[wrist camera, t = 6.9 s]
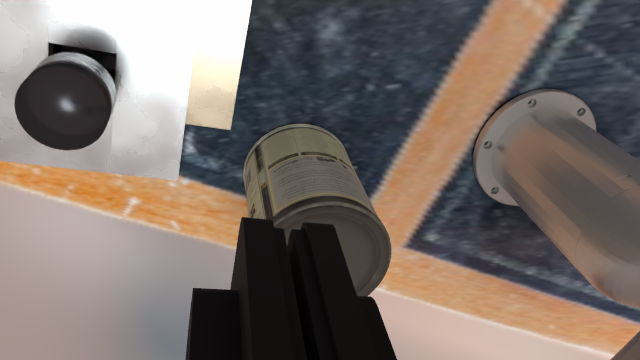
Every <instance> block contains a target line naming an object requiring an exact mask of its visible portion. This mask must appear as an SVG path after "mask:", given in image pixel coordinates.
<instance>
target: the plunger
mask: <svg viewBox="0 0 640 360" xmlns="http://www.w3.org/2000/svg"><path fill="white" fill-rule="evenodd" d="M116 61H117V54H115V53H109V52H103V51H97V50H91V49H85V48H79V47H73V46H67V45H62V50H61V53H57V54H53V55H51V56H49V57H47V58H45V59H44V60H42V61H41V62H40V63H39V64H38V65H37V67H36V68H35V69H34V70H33V71H32V72H31V73H30V75H29V76H28V77H27V78H26V79H25V80H24V81H23V83H22V84H21V85H20V87H19V88H18V90H17V93H16V96H15V103H14V106H15V112H16V116H17V119H18V121H19V123H20V124H21V126H22V127H23V129H24V130H25V131H26V132H27V133H28V134H29V135H30V136H31V137H32V138H33V139H35V140H36V141H38V142H39V143H41V144H43V145H45V146H48V147H50V148H54V149H58V150H78V149H82V148H85V147H87V146H89V145H91V144H93V143H94V142H95V141H97V140H98V139H99V138H100V137H101V135H102V134H103V133H104V131H105V129H106V126H107V124H108V121H109V119H110V116H111V114H112V111H113V109H114V106H115V103H116V88H115V84H114V82H113V79H112V77H111V76H110V74H109V73H108V72H107V70H106V69H105V68H109V69H115V70H116Z"/></svg>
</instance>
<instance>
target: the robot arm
mask: <svg viewBox="0 0 640 360" xmlns="http://www.w3.org/2000/svg"><path fill="white" fill-rule="evenodd" d="M473 169H474V174H475V177H476V179H477V181H478V183H479V185H480V186H481V187H482V188H483V190H484V191H485V192H486V193H487V194H488V195H489V196H490V197H491V198H493V199H495V200H496V201H498V202H500V203H503V204H506V205H513V206H520V207H521V208H522V209H523V210H524V212H525V213H526V214H527V215H528V216H529V217H530V218H531V219H532V220H533V221H534V223H535V224H536V225H537V226H538V227H539V228H540V229H541V230H542V231H543V232H544V234H545V235H546V236H547V237H548V238H549V239H550V240H551V241H552V242H553V243H554V244H555V246H556V247H557V248H558V249H559V250H560V251H561V252H562V253H563V254H564V255H565V257H566V258H567V259H568V260H569V261H570V262H571V263H572V264H573V265H574V266H575V267H576V269H577V270H578V271H579V272H580V273H581V274H582V275H583V276H584V277H585V278H586V279H587V280H588V281H589V282H590V284H591V285H592V286H593V287H595V288H596V289H597V290H598V291H599V292H601V293H602V294H604V295H605V296H607V297H609V298H611V299H613V300H615V301H617V302H620V303H622V304H626V305H629V306H633V307H637V308H640V161H639V160H637V159H636V158H635V157H633V156H632V155H630V154H629V153H627V152H626V151H624V150H623V149H621V148H620V147H618V146H617V145H615V144H614V143H613V142H611V141H610V140H608V139H607V138H605V137H604V136H602V135H601V134H599V133H598V132H596V123H595V119H594V116H593V114H592V112H591V110H590V109H589V107H588V106H587V105H586V104H585V103H584V102H583V101H582V100H581V99H579V98H577V97H576V96H574V95H573V94H570V93H568V92H566V91H563V90H558V89H539V90H535V91H530V92H527V93H525V94H522V95H520V96H517V97H516V98H514V99H512V100H511V101H509V102H507V103H506V104H505V105H504V106H502V107H501V108H500V109H499V110H497V111H496V112H495V113H494V115H493V116H492V117H491V118H490V119H489V120H488V121H487V123H486V124H485V126H484V127H483V129H482V131H481V132H480V134H479V137H478V139H477V141H476V144H475V148H474V152H473ZM186 360H397V359H396V356H395V353H394V350H393V348H392V345H391V342H390V339H389V337H388V334H387V331H386V328H385V326H384V323H383V320H382V317H381V315H380V312H379V309H378V306H377V304H376V302H375V300H374V299H373V298H372V297H367V296H357V294H356V291H355V288H354V285H353V282H352V279H351V275H350V272H349V269H348V266H347V263H346V260H345V257H344V254H343V251H342V248H341V245H340V242H339V238H338V235H337V232H336V229H335V227H334V225H332V224H323V223H310V222H303V223H302V226H301V228H300V230H299V229H292V230H291V231H290V235H289V239H288V244H286V238H285V232H284V229H283V228H274V223H273V220H272V219H259V218H246V217H242V219H241V223H240V229H239V236H238V242H237V249H236V256H235V262H234V269H233V276H232V282H231V289H230V290H221V289H201V288H193V293H192V301H191V310H190V320H189V329H188V340H187V350H186ZM611 360H640V332H638V333H637V334H636V335H635V336H634V337H633V338H632V339H631V340H630V341H629V342H628V343H627V344H626V345H625V346H624V347H623V348H622V349H621V350H620V351H619V352H618V353H617V354H616V355H615V356H614V357H613V358H612V359H611Z"/></svg>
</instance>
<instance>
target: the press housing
mask: <svg viewBox="0 0 640 360" xmlns="http://www.w3.org/2000/svg"><path fill="white" fill-rule="evenodd" d="M251 3H252V0H0V161H6V162H15V163H24V164H33V165H42V166H51V167H60V168H69V169H77V170H86V171H95V172H104V173H113V174H122V175H131V176H140V177H149V178H158V179H167V180H176V181H178V175H179V167H180V159H181V151H182V143H183V135H184V127H185V124H191V125H198V126H206V127H213V128H220V129H227V130H230V129H231V123H232V117H233V111H234V105H235V99H236V93H237V87H238V81H239V75H240V69H241V63H242V57H243V51H244V45H245V39H246V33H247V27H248V21H249V15H250V9H251ZM62 45H67V46H73V47H79V48H85V49H91V50H97V51H103V52H109V53H115V54H117V61H116V70H115V69H109V68H105V69H106V70H107V72H108V73H109V74H110V76H111V77H112V79H113V82H114V84H115V88H116V103H115V106H114V109H113V111H112V114H111V116H110V119H109V121H108V124H107V126H106V129H105V131H104V133H103V134H102V135H101V137H100V138H99V139H98V140H97V141H95V142H94V143H93V144H91V145H89V146H87V147H85V148H82V149H78V150H58V149H54V148H50V147H48V146H45V145H43V144H41V143H39V142H38V141H36V140H35V139H33V138H32V137H31V136H30V135H29V134H28V133H27V132H26V131H25V130H24V129H23V127H22V126H21V124H20V123H19V121H18V119H17V116H16V112H15V106H14V103H15V96H16V93H17V90H18V88H19V87H20V85H21V84H22V83H23V81H24V80H25V79H26V78H27V77H28V76H29V75H30V73H31V72H32V71H33V70H34V69H35V68H36V67H37V65H38V64H39V63H40V62H41V61H42V60H44V59H45V58H47V57H49V56H51V55H53V54H57V53H61V50H62Z"/></svg>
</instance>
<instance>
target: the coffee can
mask: <svg viewBox="0 0 640 360" xmlns="http://www.w3.org/2000/svg"><path fill="white" fill-rule="evenodd" d="M243 180H244V185H245V189H246V198H247V206H248V215H249V218H259V219H272V220H273V223H274V228H283V229H284V232H285V238H286V244H288V239H289V235H290V231H291V230H292V229H299V230H300V228H301V226H302V223H303V222H310V223H323V224H332V225H334V227H335V229H336V232H337V235H338V238H339V242H340V245H341V248H342V251H343V254H344V257H345V260H346V263H347V266H348V269H349V272H350V275H351V279H352V282H353V285H354V288H355V291H356V294H357V296H368V295H369V294H370V293H371V292H372V291H373V290H374V289H375V288H376V287H377V286H378V285H379V284H380V282H381V281H382V279H383V278H384V276H385V274H386V272H387V270H388V267H389V264H390V259H391V243H390V238H389V235H388V233H387V231H386V229H385V227H384V225H383V224H382V222H381V220H380V219H379V218H378V216H377V214H376V212H375V210H374V208H373V206H372V204H371V202H370V200H369V198H368V196H367V194H366V192H365V190H364V188H363V186H362V184H361V182H360V180H359V178H358V176H357V174H356V172H355V170H354V168H353V166H352V164H351V162H350V160H349V158H348V154H347V152H346V150H345V148H344V146H343V145H342V143H341V142H340V141H339V140H338V139H337V137H335V136H334V135H333V134H332V133H330V132H329V131H327V130H325V129H323V128H321V127H318V126H314V125H310V124H290V125H285V126H282V127H278V128H276V129H274V130H273V131H270V132H269V133H267V134H266V135H264V136H263V137H261V138H260V139H259V140H258V141H257V142H256V143H255V144H254V146H253V147H252V148H251V150H250V152H249V153H248V155H247V158H246V160H245V164H244V169H243Z"/></svg>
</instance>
